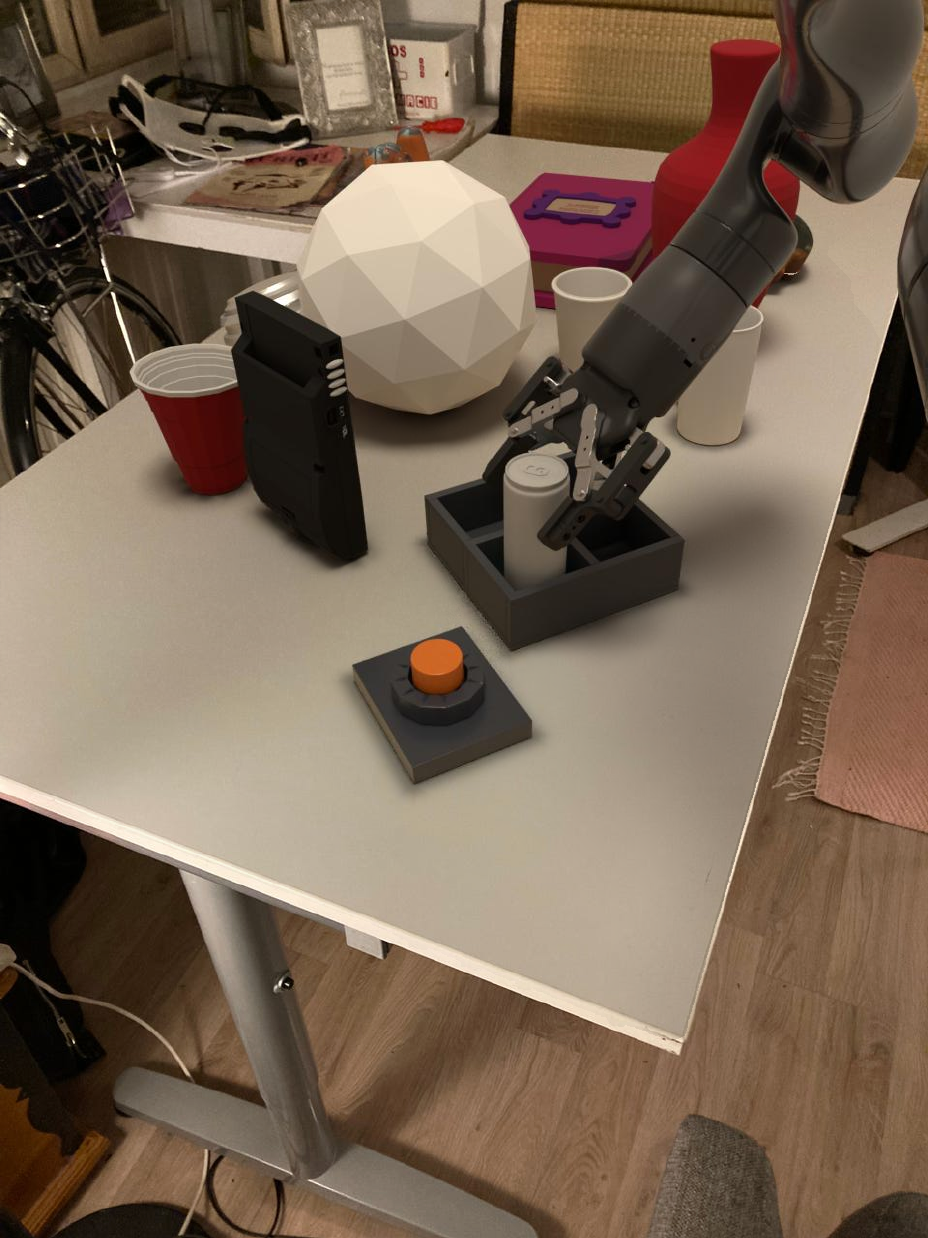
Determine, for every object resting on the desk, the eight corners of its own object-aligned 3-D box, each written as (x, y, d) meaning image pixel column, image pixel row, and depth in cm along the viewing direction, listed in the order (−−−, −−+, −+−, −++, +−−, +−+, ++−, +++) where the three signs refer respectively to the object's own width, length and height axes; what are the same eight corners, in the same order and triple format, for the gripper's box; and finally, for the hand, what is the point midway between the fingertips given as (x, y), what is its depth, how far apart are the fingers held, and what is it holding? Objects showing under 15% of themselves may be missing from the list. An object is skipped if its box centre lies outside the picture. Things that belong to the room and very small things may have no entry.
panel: (532, 736, 68) (532, 702, 65) (414, 784, 65) (410, 749, 63) (462, 642, 75) (461, 607, 73) (354, 680, 72) (349, 646, 70)
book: (462, 297, 123) (460, 236, 118) (533, 220, 142) (534, 165, 137) (624, 319, 117) (629, 256, 112) (676, 236, 136) (682, 179, 131)
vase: (797, 345, 110) (860, 43, 91) (710, 387, 104) (758, 72, 84) (698, 304, 119) (735, 21, 99) (612, 341, 113) (633, 46, 93)
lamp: (533, 427, 87) (440, 142, 77) (232, 491, 104) (121, 263, 93) (594, 343, 105) (526, 102, 94) (329, 409, 121) (245, 209, 111)
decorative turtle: (799, 250, 131) (815, 190, 125) (809, 305, 120) (827, 242, 115) (725, 245, 132) (738, 185, 126) (729, 299, 121) (743, 236, 116)
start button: (472, 685, 67) (471, 663, 66) (425, 702, 66) (423, 681, 65) (450, 653, 70) (448, 632, 69) (404, 669, 69) (402, 648, 67)
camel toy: (408, 223, 143) (398, 93, 132) (491, 234, 139) (489, 100, 127) (323, 290, 126) (304, 147, 115) (415, 304, 122) (405, 157, 110)
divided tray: (678, 589, 79) (685, 539, 76) (511, 651, 74) (511, 600, 71) (579, 495, 90) (582, 447, 86) (427, 544, 85) (423, 495, 81)
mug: (757, 437, 96) (779, 321, 88) (699, 454, 94) (717, 337, 86) (698, 393, 103) (713, 282, 95) (643, 407, 101) (654, 295, 93)
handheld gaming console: (374, 552, 84) (348, 334, 71) (332, 575, 82) (297, 354, 69) (295, 495, 91) (258, 287, 78) (254, 515, 89) (209, 304, 76)
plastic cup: (298, 465, 95) (279, 351, 87) (221, 522, 88) (193, 404, 80) (216, 437, 99) (190, 325, 91) (137, 489, 93) (102, 373, 85)
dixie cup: (573, 395, 103) (577, 305, 97) (535, 363, 109) (537, 276, 102) (640, 377, 106) (648, 288, 99) (599, 347, 112) (605, 260, 105)
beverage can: (551, 622, 75) (556, 493, 67) (494, 607, 77) (492, 479, 69) (573, 586, 79) (580, 458, 71) (517, 571, 80) (518, 445, 72)
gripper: (578, 268, 70) (441, 447, 74) (698, 346, 60) (533, 547, 64) (634, 322, 75) (504, 487, 79) (753, 401, 65) (597, 585, 69)
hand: (517, 514), depth 72 cm, fingers open, 8 cm apart
